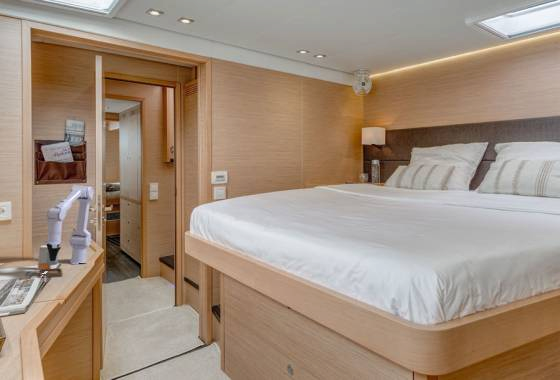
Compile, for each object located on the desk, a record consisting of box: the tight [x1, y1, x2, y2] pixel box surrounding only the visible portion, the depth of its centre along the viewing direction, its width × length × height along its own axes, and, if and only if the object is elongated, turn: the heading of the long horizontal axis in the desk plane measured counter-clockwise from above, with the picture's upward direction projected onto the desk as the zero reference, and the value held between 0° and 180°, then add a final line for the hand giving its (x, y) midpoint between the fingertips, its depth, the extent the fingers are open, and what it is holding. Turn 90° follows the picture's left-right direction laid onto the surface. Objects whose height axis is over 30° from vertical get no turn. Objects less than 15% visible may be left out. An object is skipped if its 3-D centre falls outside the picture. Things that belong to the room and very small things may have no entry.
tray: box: [39, 267, 64, 278], centre depth 178 cm, size 9×9×2 cm
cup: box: [46, 251, 60, 266], centre depth 178 cm, size 5×5×6 cm
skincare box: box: [37, 245, 54, 271], centre depth 186 cm, size 6×4×12 cm
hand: (52, 259), depth 178 cm, fingers closed on cup, 5 cm apart
